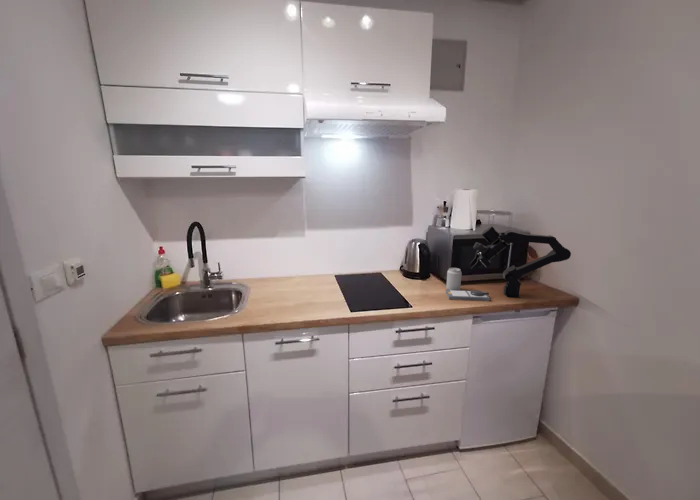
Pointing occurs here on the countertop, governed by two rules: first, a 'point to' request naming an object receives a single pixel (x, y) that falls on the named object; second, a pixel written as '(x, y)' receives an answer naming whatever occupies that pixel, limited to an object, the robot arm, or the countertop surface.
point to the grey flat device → (467, 295)
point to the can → (453, 279)
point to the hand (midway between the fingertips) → (470, 267)
